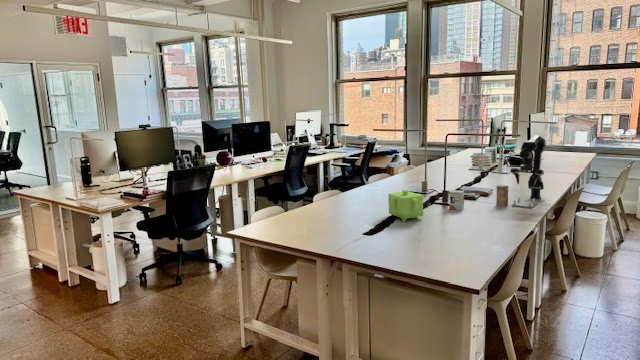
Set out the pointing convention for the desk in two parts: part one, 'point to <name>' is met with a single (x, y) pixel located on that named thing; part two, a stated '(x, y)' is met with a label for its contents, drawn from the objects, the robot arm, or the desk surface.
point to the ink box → (456, 200)
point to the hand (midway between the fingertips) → (525, 184)
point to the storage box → (405, 204)
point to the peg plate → (524, 203)
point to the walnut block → (502, 195)
